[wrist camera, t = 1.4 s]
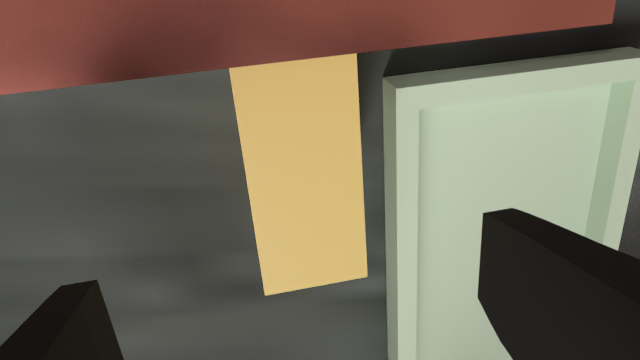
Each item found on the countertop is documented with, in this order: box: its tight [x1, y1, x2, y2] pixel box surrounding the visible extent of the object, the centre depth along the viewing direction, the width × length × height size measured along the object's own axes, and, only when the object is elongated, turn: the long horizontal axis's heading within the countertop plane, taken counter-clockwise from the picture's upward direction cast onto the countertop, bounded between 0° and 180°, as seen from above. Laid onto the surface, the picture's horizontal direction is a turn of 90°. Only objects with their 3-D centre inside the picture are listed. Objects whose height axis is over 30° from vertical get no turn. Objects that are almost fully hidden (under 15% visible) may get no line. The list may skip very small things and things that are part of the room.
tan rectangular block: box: [229, 53, 367, 296], centre depth 15 cm, size 12×3×6 cm, turn 4°
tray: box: [382, 47, 640, 360], centre depth 23 cm, size 20×10×2 cm, turn 4°
